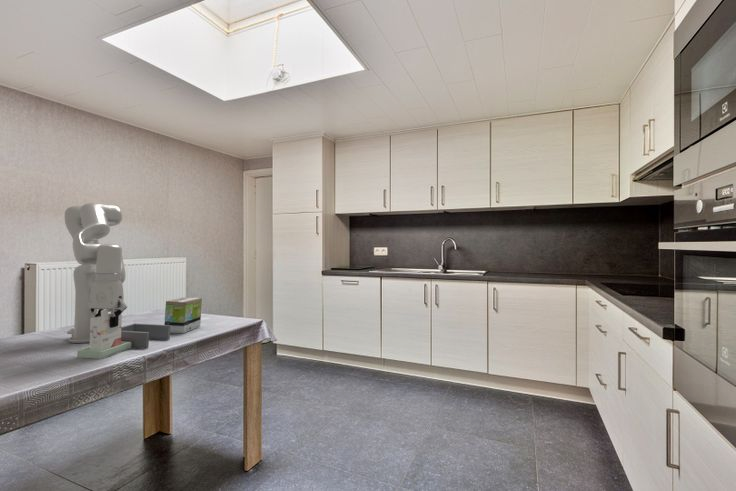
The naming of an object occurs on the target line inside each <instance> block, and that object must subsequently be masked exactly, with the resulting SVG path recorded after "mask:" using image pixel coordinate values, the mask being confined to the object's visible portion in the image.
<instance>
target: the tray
mask: <svg viewBox="0 0 736 491" xmlns="http://www.w3.org/2000/svg"><path fill="white" fill-rule="evenodd" d="M130 349H132V347H131V342H126V341H121V345H118V346H115V347H112V348H109V349H106V350H102V351H96V350H90V345H89V346H87V347H84V348H79V349H78V350H77V353H76V357H77V358H80V359H81V358H86V359H98V358H99V359H101V360H102V359H105V358H108V357H111V356H114V355H116V354H119V353H121V352H125V351H127V350H130Z"/></svg>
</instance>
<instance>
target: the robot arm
mask: <svg viewBox="0 0 736 491" xmlns="http://www.w3.org/2000/svg"><path fill="white" fill-rule="evenodd" d="M122 221H123V212H122V209H121V208H120V207H119V206H117V205H114V204H107V203H106V204H105V203H94V202H92V203H91V202H90V203H85V204H83V205H74V206H69V207H68V208H66V209H65V211H64V222H65V223H64V224H65V226H66V229H67V231H68V233H69V234H70V236H71V238H72V250H73V253H74V258H75V260H76V262H77V263H78V264H79V265H77V266H76V267H75V269H74V270H73V274H72V276H73V281H74V290H75V292H74V293H75V294H74V295H75V296H74V325H73V328H70V329H69V330H67V331H66V334H67V335H71V337H69V338H68V342H69V343H72V344H87V343H90V318H94V317H99V316H101V311H102V310H106V309H110V314H111V315H112V317H110V328H113V327H116V326H118V320H119V316H120V315H122V313H123V312H124V311H126V309H128V305H127V304H126V302H124V300H125V299H124V286H123V283H124V282H125V281H126V276H127V275H126V274H127V273H126V268H125V263H124V258H123V249H122V246H121V245H118V244H115V243H100V242H99V240H101V239H102V238H104V237H106V236H108V235H109V234H110V230H111V227H114V226H118V225H119V224H120V223H122ZM115 310H116V312H115Z"/></svg>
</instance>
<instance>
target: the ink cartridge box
mask: <svg viewBox="0 0 736 491" xmlns="http://www.w3.org/2000/svg"><path fill="white" fill-rule="evenodd" d="M115 312H116V310H115ZM110 317H112V315H111V311H110V309H104V310H102V311H101V316H99V317H94V318H90V342H89V346H90V350H96V351H102V350H106V349H109V348H112V347H115V346H118V345H121V327H122V325H123V324H122V323H123V322H122V319H123V318H122V317H123V315H122V314H121V315H120V316H119V320H118V326H116V327H113V328H110Z"/></svg>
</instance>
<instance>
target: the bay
mask: <svg viewBox="0 0 736 491" xmlns="http://www.w3.org/2000/svg"><path fill="white" fill-rule="evenodd" d="M150 340H160V341H161V340H164V341H169V340H171V333H170V325H164V324H155V323H153V324H152V323H151V324H150V323H131V324H128V325H123V326H121V341H126V342H131V348H132V349H133V348H136V349H148V348H149V347H150V346H149V342H150Z"/></svg>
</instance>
